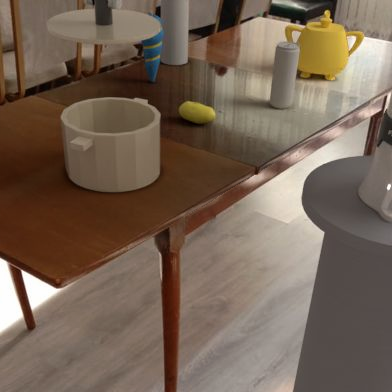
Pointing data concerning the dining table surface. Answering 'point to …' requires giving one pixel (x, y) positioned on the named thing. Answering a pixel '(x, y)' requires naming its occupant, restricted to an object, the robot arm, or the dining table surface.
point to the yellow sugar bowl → (323, 47)
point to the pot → (112, 143)
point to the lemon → (196, 112)
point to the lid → (103, 25)
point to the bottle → (174, 31)
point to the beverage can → (284, 74)
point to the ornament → (153, 50)
